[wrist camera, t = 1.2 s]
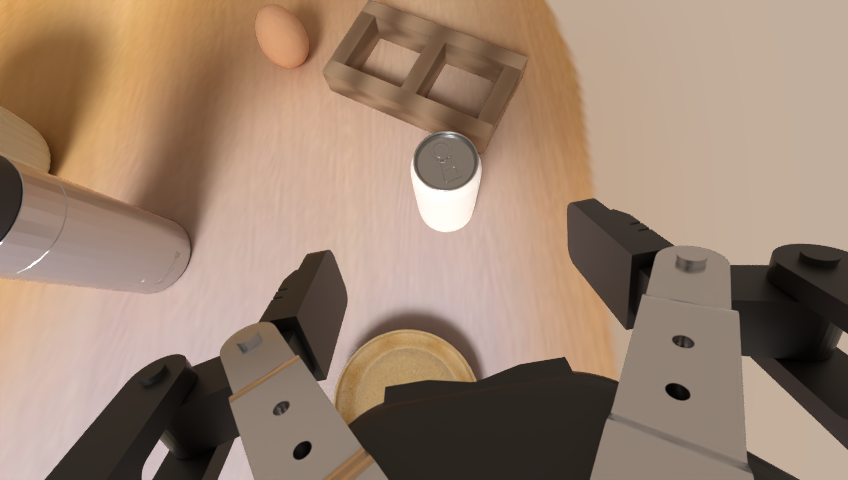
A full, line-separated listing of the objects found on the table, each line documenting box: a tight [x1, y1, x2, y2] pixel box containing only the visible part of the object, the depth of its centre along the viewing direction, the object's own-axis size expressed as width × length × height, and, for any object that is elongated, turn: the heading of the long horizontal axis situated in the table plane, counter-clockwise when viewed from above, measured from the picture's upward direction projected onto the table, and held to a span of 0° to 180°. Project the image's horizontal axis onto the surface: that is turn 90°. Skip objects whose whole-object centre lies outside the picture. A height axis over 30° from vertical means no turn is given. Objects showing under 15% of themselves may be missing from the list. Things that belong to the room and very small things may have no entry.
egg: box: [255, 5, 309, 68], centre depth 44 cm, size 6×6×8 cm
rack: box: [322, 0, 528, 154], centre depth 44 cm, size 22×12×4 cm, turn 63°
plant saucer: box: [333, 329, 477, 426], centre depth 35 cm, size 15×15×3 cm
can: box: [411, 131, 482, 232], centre depth 36 cm, size 6×6×12 cm
